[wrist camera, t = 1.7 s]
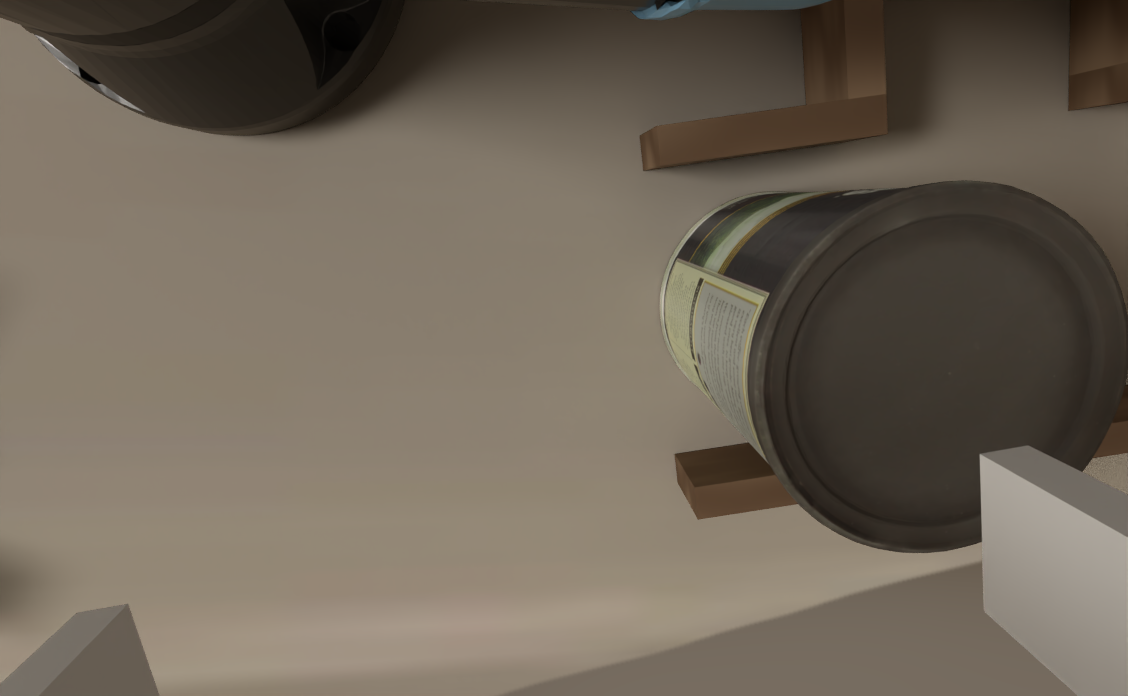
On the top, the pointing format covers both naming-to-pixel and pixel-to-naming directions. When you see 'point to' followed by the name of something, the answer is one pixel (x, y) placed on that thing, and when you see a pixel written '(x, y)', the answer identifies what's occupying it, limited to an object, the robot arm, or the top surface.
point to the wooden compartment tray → (840, 114)
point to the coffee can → (899, 345)
